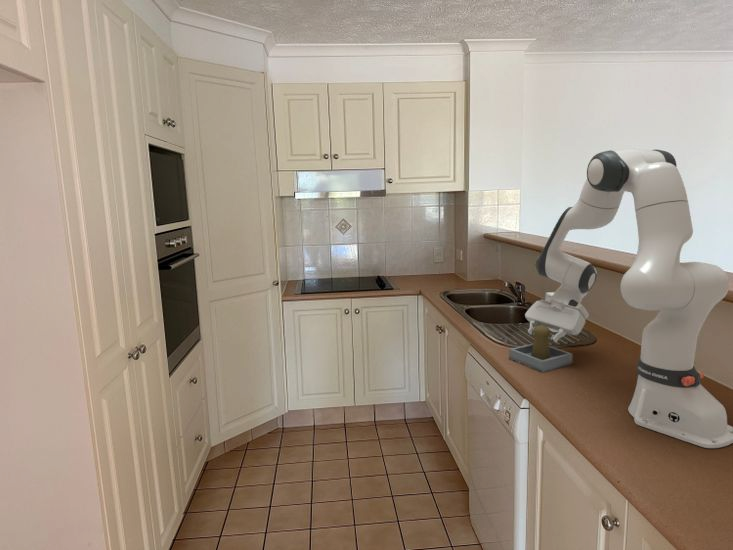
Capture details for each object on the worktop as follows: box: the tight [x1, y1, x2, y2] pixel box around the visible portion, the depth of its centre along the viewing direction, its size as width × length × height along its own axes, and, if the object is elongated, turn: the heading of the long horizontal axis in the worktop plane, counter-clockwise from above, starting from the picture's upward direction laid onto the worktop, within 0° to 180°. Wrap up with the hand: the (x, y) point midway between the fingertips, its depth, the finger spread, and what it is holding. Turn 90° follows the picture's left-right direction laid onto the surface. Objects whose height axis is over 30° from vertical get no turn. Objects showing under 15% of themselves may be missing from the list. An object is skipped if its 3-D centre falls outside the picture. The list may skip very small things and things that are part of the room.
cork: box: [531, 325, 551, 360], centre depth 155 cm, size 6×6×11 cm
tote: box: [508, 343, 574, 373], centre depth 156 cm, size 14×14×4 cm
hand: (541, 337), depth 155 cm, fingers open, 8 cm apart
